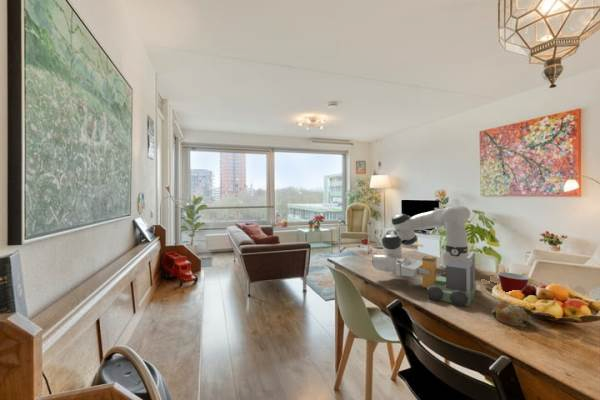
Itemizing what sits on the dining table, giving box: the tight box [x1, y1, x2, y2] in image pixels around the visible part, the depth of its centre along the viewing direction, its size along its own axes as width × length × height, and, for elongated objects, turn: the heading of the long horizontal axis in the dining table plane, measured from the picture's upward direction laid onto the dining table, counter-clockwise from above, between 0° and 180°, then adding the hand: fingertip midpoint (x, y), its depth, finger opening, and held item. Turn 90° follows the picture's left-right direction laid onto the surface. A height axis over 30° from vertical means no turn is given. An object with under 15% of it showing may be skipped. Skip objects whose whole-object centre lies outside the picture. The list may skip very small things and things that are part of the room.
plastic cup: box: [497, 271, 531, 292], centre depth 113 cm, size 11×11×12 cm
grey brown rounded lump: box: [491, 302, 530, 328], centre depth 97 cm, size 10×10×8 cm
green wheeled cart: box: [426, 250, 477, 307], centre depth 124 cm, size 28×16×19 cm, turn 141°
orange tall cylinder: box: [421, 255, 438, 289], centre depth 130 cm, size 5×5×14 cm
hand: (431, 270), depth 129 cm, fingers closed on orange tall cylinder, 5 cm apart
